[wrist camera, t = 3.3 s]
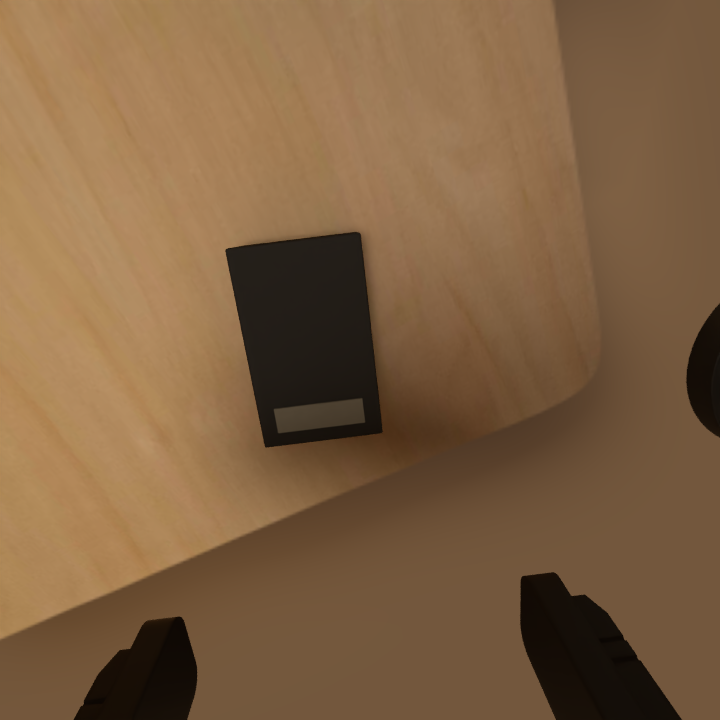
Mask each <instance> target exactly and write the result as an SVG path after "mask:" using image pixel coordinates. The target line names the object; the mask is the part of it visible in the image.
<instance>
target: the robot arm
mask: <svg viewBox="0 0 720 720" xmlns="http://www.w3.org/2000/svg"><path fill="white" fill-rule="evenodd" d="M520 619H521V620H520V621H521V622H520V624H521V633H522V638H523V642H524V646H525V649H526V652H527V655H528V657H529V659H530V662H531V664H532V666H533V669H534V670H535V673H536V675H537V678H538V680H539V682H540V684H541V687H542V689H543V691H544V694H545V696H546V698H547V700H548V703H549V705H550V707H551V709H552V712H553V714H554V716H555V718H556V720H682V719H681V718H680V717H679V715H678V714H677V712H676V711H675V709H674V708H673V706H672V705H671V704H670V702H669V701H668V699H667V698H666V696H665V695H664V694H663V692H662V691H661V689H660V688H659V686H658V685H657V683H656V682H655V681H654V679H653V678H652V676H651V675H650V674H649V672H648V671H647V669H646V668H645V666H644V665H643V663H642V662H641V661H640V660H638V658H637V655H636V654H635V652H634V650H633V649H632V648H631V646H630V645H629V643H628V642H627V641H625V640H624V638H623V635H622V633H621V632H620V630H619V629H618V628H617V626H616V625H615V623H614V622H613V621H612V619H611V618H610V616H609V615H608V613H607V612H606V611H604V610H603V609H602V608H601V607H599V606H598V605H597V604H596V603H594V602H593V601H592V600H591V599H590V598H588V597H587V596H586V595H578V596H571V595H570V593H569V592H568V590H567V589H566V587H565V585H564V584H563V582H562V581H561V579H560V578H559V576H558V575H557V574H556V573H554V572H552V573H545V574H536V575H528V576H522V578H521V614H520ZM196 685H197V665H196V661H195V657H194V654H193V650H192V647H191V643H190V640H189V637H188V633H187V630H186V626H185V623H184V620H183V619H182V617H172V618H164V619H156V620H148V621H146V622H145V623H144V624H143V625H142V627H141V629H140V631H139V633H138V635H137V637H136V639H135V641H134V643H133V645H132V647H131V649H126V650H120V651H119V652H118V653H117V654H116V655H115V656H114V657H113V658H112V659H111V660H110V662H109V663H108V664H107V665H106V666H105V667H104V668H103V669H102V670H101V672H100V673H99V674H98V676H97V677H96V679H95V681H94V683H93V685H92V687H91V688H90V690H89V692H88V694H87V696H86V698H85V700H84V705H83V706H81V707H80V709H79V711H78V713H77V714H76V716H75V718H74V720H187V718H188V715H189V712H190V708H191V705H192V702H193V699H194V695H195V691H196Z"/></svg>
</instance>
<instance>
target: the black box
mask: <svg viewBox="0 0 720 720" xmlns="http://www.w3.org/2000/svg"><path fill="white" fill-rule="evenodd" d="M226 256H227V261H228V266H229V271H230V276H231V281H232V286H233V291H234V296H235V301H236V306H237V311H238V316H239V321H240V325H241V330H242V335H243V340H244V345H245V350H246V355H247V360H248V365H249V370H250V375H251V380H252V385H253V390H254V395H255V400H256V405H257V410H258V415H259V420H260V424H261V429H262V434H263V439H264V444H265V447H274V446H282V445H290V444H298V443H306V442H314V441H322V440H330V439H338V438H346V437H354V436H362V435H370V434H378V433H382V432H383V431H382V422H381V413H380V404H379V395H378V386H377V377H376V368H375V359H374V350H373V341H372V332H371V323H370V314H369V305H368V296H367V287H366V278H365V269H364V260H363V251H362V242H361V234H360V233H358V232H352V233H343V234H335V235H327V236H319V237H311V238H302V239H294V240H286V241H278V242H270V243H261V244H253V245H245V246H239V247H234V248H228V249H226Z"/></svg>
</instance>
